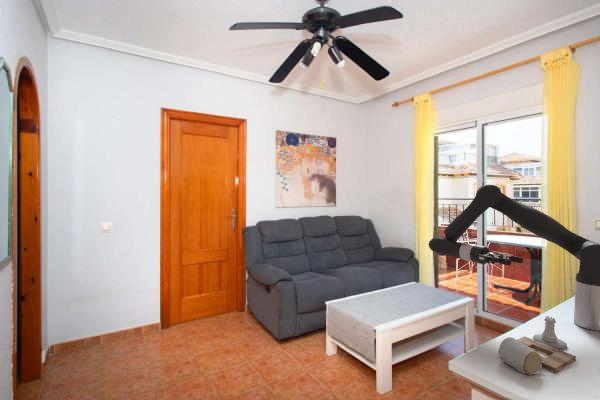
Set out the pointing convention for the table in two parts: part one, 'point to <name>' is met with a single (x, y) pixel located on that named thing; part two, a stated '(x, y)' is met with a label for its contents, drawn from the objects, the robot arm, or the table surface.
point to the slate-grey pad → (558, 345)
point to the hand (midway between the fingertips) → (516, 261)
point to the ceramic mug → (519, 356)
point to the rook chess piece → (549, 330)
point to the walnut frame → (555, 358)
